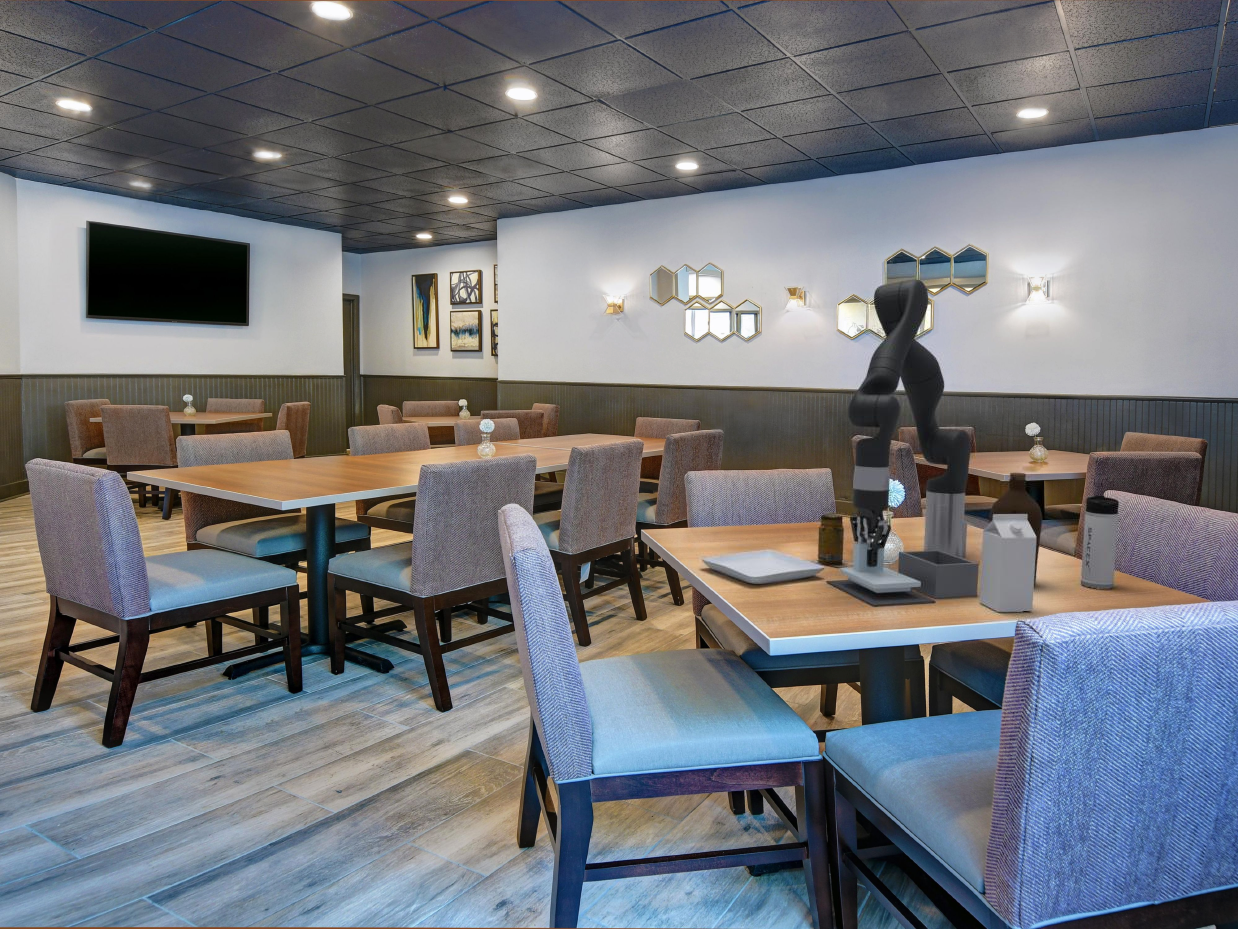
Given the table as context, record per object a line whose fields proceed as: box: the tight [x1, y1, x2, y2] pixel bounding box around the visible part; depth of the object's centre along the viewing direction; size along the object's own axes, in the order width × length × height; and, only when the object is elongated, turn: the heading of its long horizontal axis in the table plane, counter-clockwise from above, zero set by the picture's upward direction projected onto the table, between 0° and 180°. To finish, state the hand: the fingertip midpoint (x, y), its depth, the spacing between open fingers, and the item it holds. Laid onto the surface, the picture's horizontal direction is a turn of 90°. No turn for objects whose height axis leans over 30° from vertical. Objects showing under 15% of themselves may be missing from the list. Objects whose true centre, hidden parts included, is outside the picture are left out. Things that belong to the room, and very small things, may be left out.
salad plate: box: [700, 549, 826, 585], centre depth 191 cm, size 21×21×3 cm
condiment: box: [809, 513, 853, 568], centre depth 202 cm, size 7×8×12 cm
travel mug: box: [1080, 495, 1120, 590], centre depth 180 cm, size 6×7×20 cm
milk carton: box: [978, 514, 1036, 613], centre depth 162 cm, size 7×7×19 cm
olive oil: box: [988, 472, 1043, 587], centre depth 182 cm, size 11×11×25 cm
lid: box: [839, 541, 921, 593], centre depth 174 cm, size 15×11×8 cm
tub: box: [897, 550, 980, 600], centre depth 177 cm, size 14×10×7 cm
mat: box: [826, 579, 936, 608], centre depth 174 cm, size 14×20×1 cm
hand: (868, 564), depth 178 cm, fingers closed on lid, 2 cm apart
